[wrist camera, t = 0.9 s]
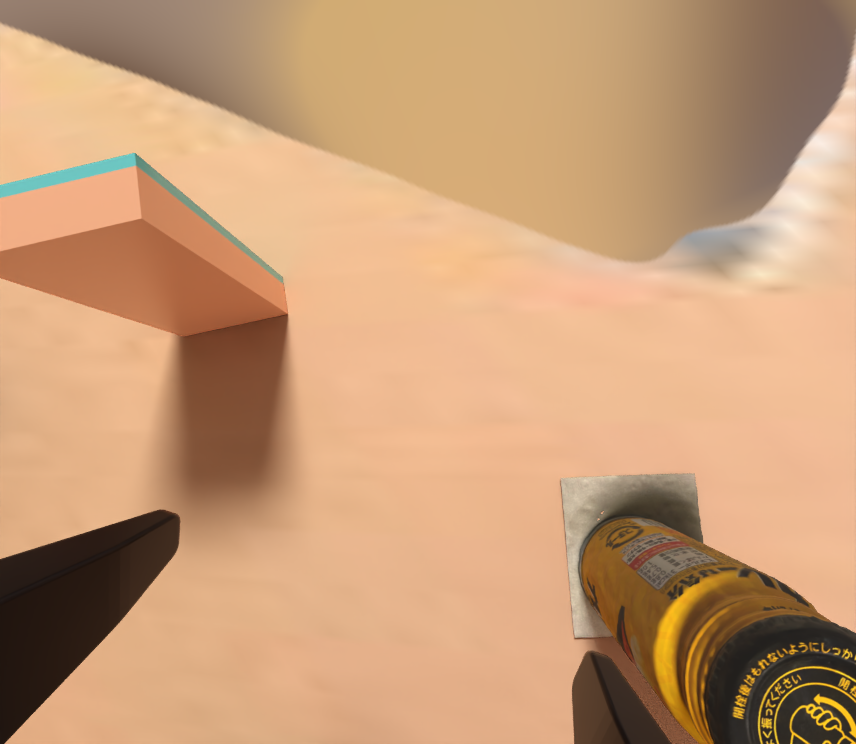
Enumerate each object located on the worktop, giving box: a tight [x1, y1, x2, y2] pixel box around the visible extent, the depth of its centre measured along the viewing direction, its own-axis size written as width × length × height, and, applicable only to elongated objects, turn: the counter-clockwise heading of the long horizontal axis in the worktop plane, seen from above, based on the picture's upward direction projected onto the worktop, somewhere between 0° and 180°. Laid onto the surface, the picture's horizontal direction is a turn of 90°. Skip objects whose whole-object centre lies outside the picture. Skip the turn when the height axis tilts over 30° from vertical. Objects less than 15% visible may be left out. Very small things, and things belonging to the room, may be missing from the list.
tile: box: [0, 153, 288, 337], centre depth 20 cm, size 2×7×12 cm, turn 101°
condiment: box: [561, 474, 856, 744], centre depth 16 cm, size 7×8×12 cm
